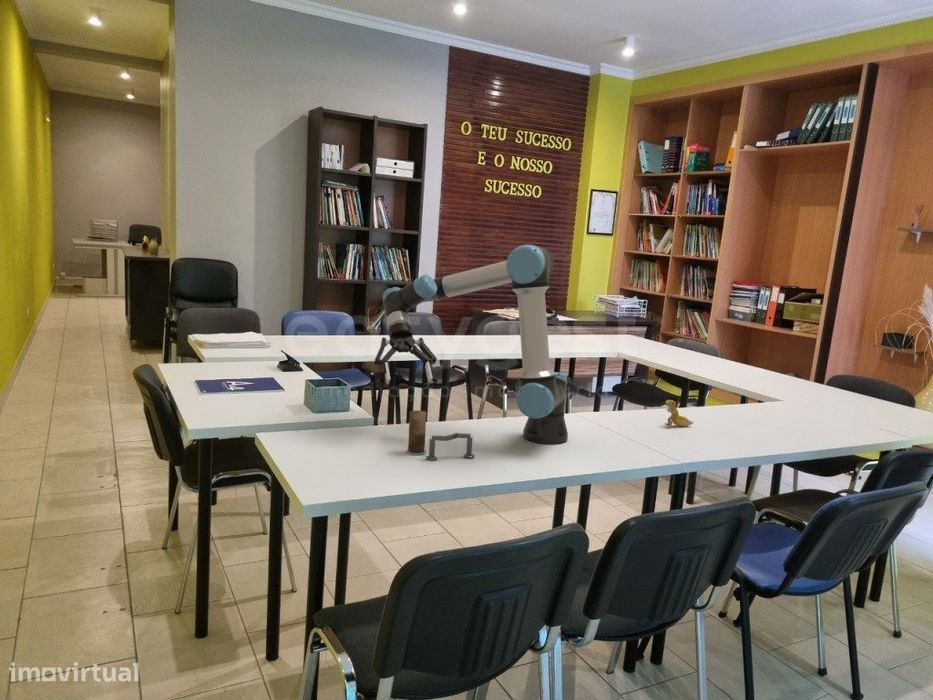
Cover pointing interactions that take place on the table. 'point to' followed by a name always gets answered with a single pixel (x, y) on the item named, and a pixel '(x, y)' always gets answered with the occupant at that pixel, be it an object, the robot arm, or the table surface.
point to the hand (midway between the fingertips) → (409, 381)
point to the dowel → (417, 431)
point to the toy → (676, 416)
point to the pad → (416, 453)
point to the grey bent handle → (447, 438)
